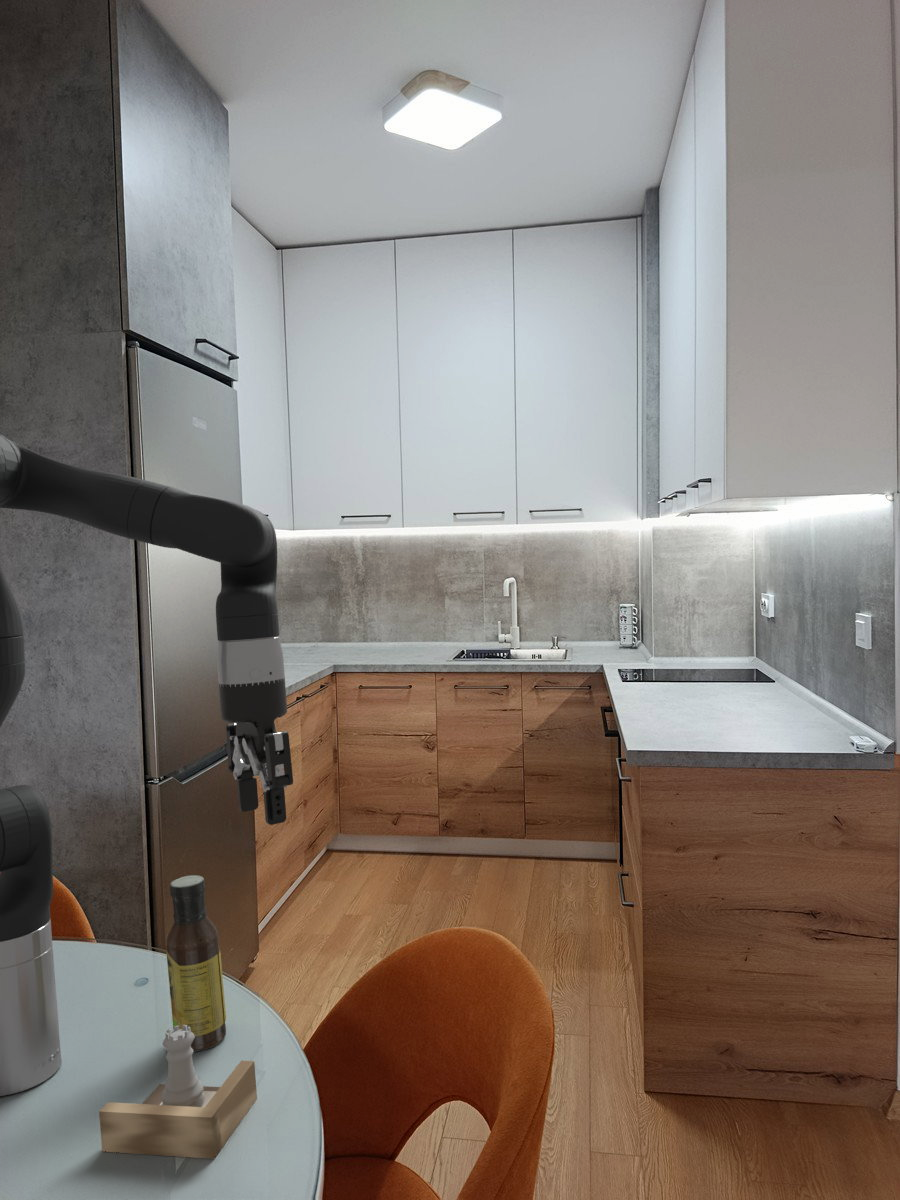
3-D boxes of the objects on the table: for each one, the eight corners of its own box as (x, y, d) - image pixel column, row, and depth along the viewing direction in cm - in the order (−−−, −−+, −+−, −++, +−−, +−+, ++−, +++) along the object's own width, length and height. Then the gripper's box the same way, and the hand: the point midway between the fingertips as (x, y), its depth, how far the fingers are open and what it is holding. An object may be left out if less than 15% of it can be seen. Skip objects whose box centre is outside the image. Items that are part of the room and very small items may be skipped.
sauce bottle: (188, 1027, 109) (177, 870, 108) (235, 1027, 108) (223, 869, 107) (164, 1054, 102) (151, 888, 102) (213, 1055, 101) (201, 887, 101)
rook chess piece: (205, 1113, 89) (199, 1036, 89) (160, 1123, 88) (154, 1045, 88) (205, 1089, 93) (200, 1016, 93) (162, 1099, 92) (156, 1025, 92)
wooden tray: (102, 1151, 85) (99, 1111, 84) (159, 1087, 95) (157, 1051, 95) (214, 1158, 82) (211, 1117, 82) (260, 1092, 93) (258, 1055, 93)
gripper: (307, 676, 96) (317, 821, 96) (259, 671, 108) (269, 800, 108) (242, 684, 91) (253, 835, 92) (200, 678, 103) (210, 812, 104)
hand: (262, 816), depth 100 cm, fingers open, 8 cm apart
